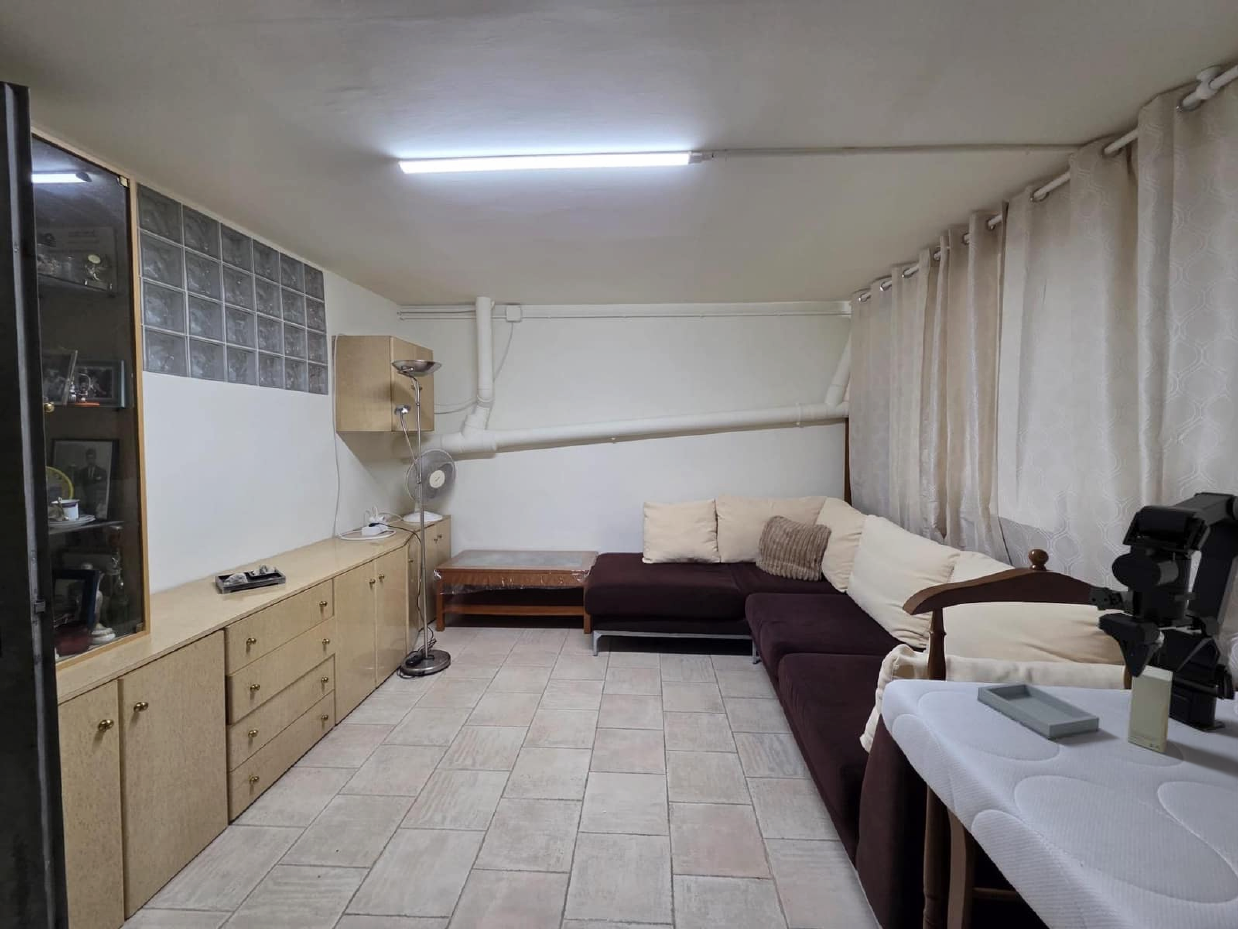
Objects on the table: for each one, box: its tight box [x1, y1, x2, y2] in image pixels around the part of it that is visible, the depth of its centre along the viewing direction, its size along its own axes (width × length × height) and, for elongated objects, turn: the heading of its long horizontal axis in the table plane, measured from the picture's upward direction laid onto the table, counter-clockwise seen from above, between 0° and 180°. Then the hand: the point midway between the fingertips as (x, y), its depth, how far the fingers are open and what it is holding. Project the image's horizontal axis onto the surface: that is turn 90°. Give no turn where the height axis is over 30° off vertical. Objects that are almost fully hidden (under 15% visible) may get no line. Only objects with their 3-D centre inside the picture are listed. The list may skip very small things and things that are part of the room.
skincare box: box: [1126, 664, 1172, 754], centre depth 84 cm, size 6×4×12 cm
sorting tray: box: [976, 681, 1100, 740], centre depth 91 cm, size 12×13×2 cm
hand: (1153, 673), depth 83 cm, fingers open, 9 cm apart
